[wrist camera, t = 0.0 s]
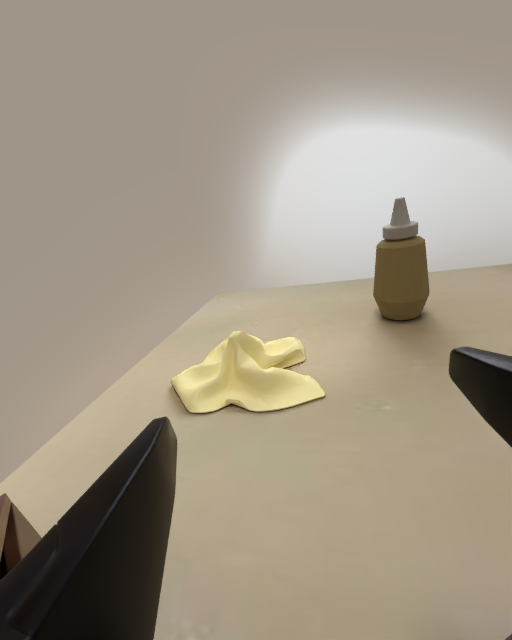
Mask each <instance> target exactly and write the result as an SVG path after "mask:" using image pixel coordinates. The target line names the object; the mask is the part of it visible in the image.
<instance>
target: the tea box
mask: <svg viewBox="0 0 512 640" xmlns="http://www.w3.org/2000/svg"><path fill="white" fill-rule="evenodd" d="M41 539H42V538H41V537H40V535H39V534H38V533H37V532H36V530H35V529H34V528H33V527H32V526H31V524H30V523H29V522H28V521H27V519H26V518H25V517H24V516H23V515H22V513H21V512H20V511H19V510H18V508H17V507H16V506H15V505H14V504H13V503H12V502H11V505H10V511H9V516H8V522H7V527H6V533H5V539H4V544H3V550H2V555H1V561H0V581H1V580H2V579H3V578H4V577H5V576H6V575H7V574H8V573H9V572H10V571H11V570H12V569H13V568H14V567H15V566H16V565H17V564H18V563H19V562H20V561H21V560H22V559H23V558H24V557H25V556H26V555H27V553H28V552H29V551H30V550H31V549H32V548H33V547H34V546H35V545H36V544H37V543H38V542H39V541H40V540H41Z"/></svg>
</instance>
